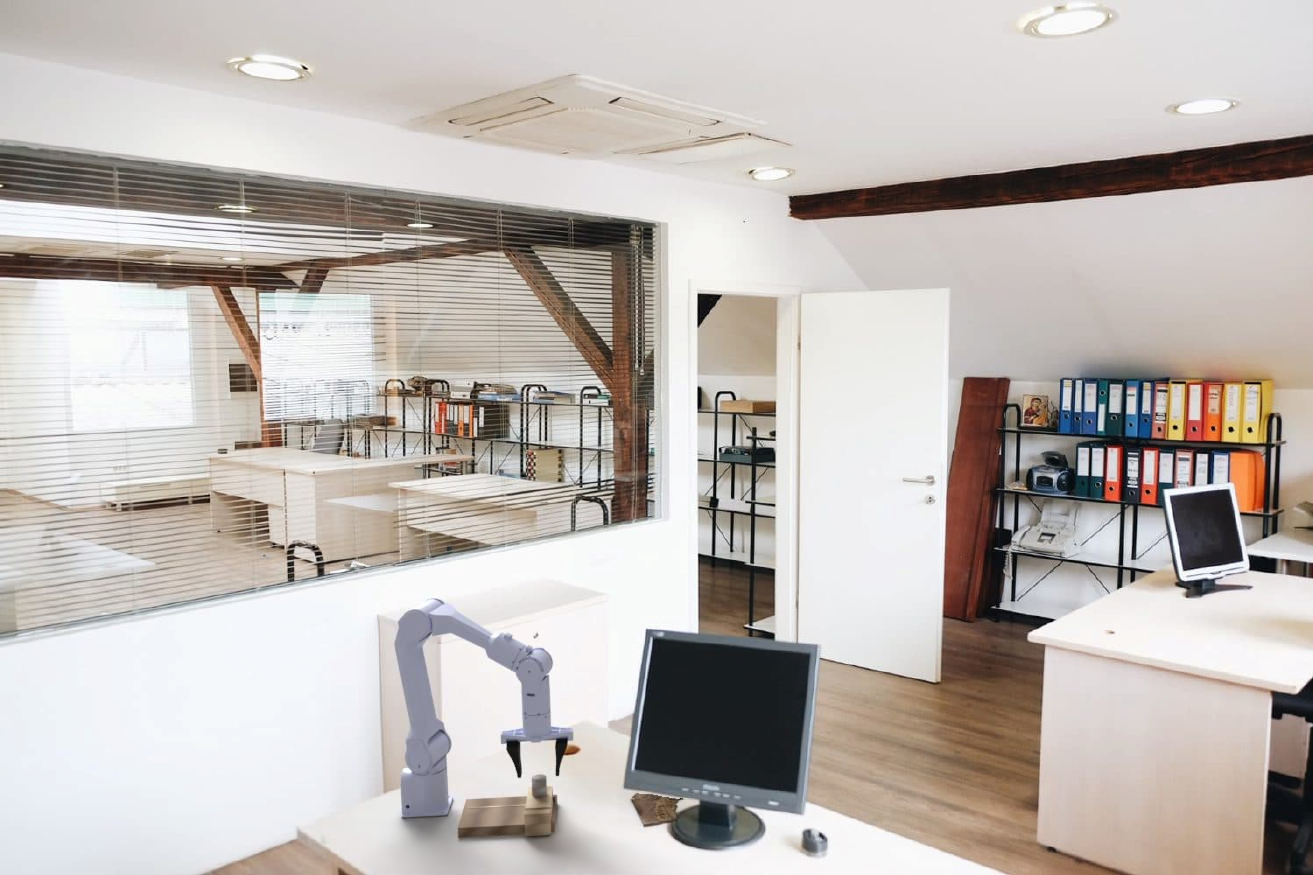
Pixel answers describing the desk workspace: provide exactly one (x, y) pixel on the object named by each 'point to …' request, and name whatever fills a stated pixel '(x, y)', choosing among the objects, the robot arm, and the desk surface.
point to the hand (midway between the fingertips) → (538, 774)
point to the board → (496, 817)
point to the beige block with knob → (539, 807)
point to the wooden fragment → (655, 808)
